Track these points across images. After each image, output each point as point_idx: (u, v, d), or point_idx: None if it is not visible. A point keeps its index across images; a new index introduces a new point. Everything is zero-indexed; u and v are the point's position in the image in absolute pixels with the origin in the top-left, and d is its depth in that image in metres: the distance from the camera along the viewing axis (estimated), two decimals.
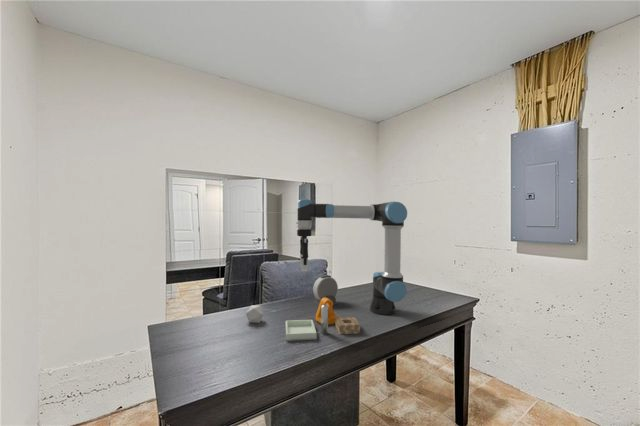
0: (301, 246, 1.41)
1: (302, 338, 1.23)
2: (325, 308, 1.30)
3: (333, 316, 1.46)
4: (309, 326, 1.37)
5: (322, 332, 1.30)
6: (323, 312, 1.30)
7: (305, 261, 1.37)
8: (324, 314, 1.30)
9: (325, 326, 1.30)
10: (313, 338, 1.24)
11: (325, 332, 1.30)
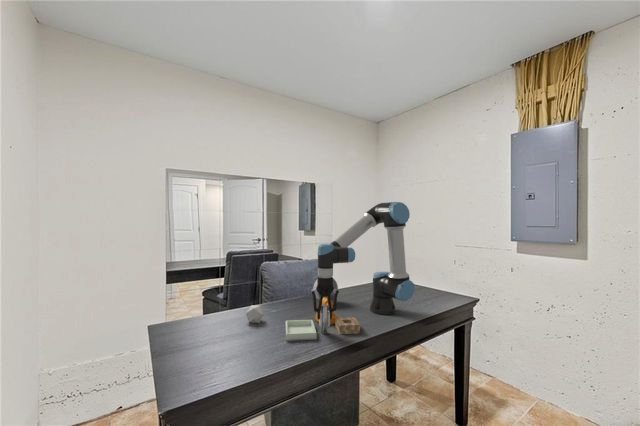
0: (320, 296, 1.33)
1: (302, 338, 1.23)
2: (325, 308, 1.30)
3: (333, 316, 1.46)
4: (309, 326, 1.37)
5: (322, 332, 1.30)
6: (323, 312, 1.30)
7: (317, 315, 1.31)
8: (324, 314, 1.30)
9: (325, 326, 1.30)
10: (313, 338, 1.24)
11: (325, 332, 1.30)
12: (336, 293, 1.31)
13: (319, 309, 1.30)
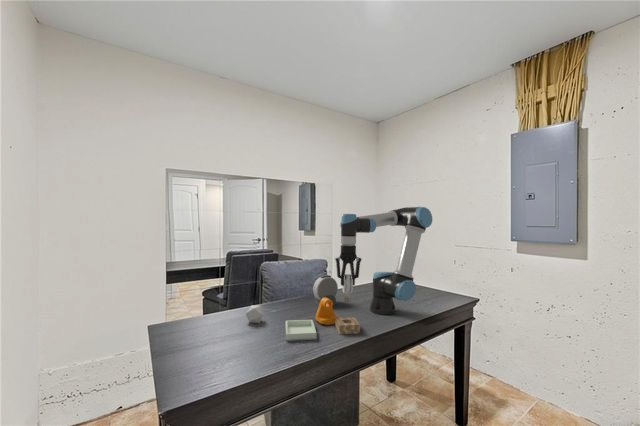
0: None
1: (302, 338, 1.23)
2: (348, 277, 1.35)
3: (333, 316, 1.46)
4: (309, 326, 1.37)
5: (345, 300, 1.35)
6: (346, 280, 1.35)
7: (341, 281, 1.36)
8: (347, 282, 1.35)
9: (348, 294, 1.35)
10: (313, 338, 1.24)
11: (349, 300, 1.35)
12: (359, 261, 1.36)
13: (343, 276, 1.35)
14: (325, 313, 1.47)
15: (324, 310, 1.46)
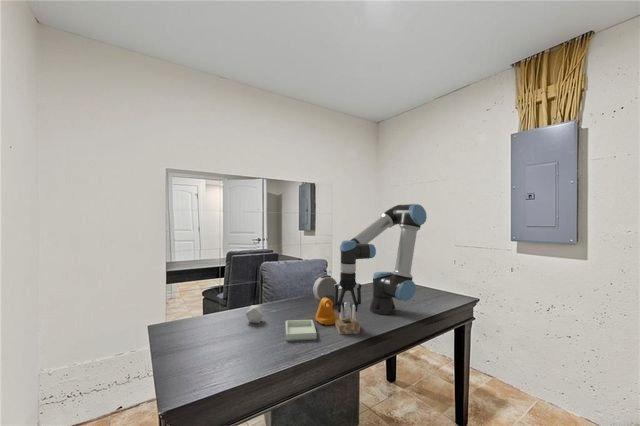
0: None
1: (302, 338, 1.23)
2: (348, 305, 1.34)
3: (333, 316, 1.46)
4: (309, 326, 1.37)
5: None
6: (346, 309, 1.35)
7: (338, 308, 1.35)
8: (347, 311, 1.34)
9: (348, 322, 1.34)
10: (313, 338, 1.24)
11: None
12: (359, 287, 1.36)
13: (340, 303, 1.34)
14: (325, 313, 1.47)
15: (324, 310, 1.46)
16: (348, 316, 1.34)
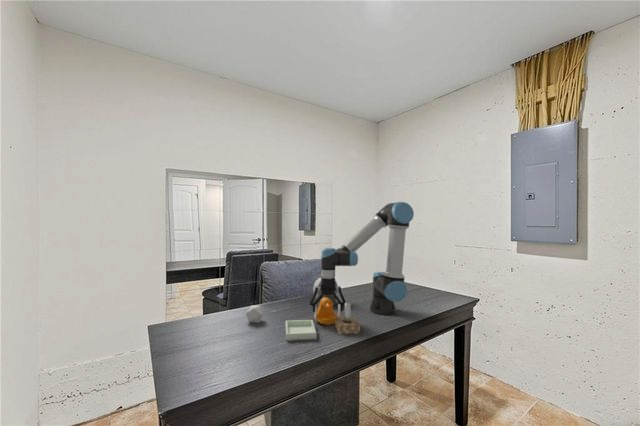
0: None
1: (302, 338, 1.23)
2: (348, 305, 1.34)
3: (333, 316, 1.46)
4: (309, 326, 1.37)
5: None
6: (346, 309, 1.35)
7: None
8: (347, 311, 1.34)
9: (348, 322, 1.34)
10: (313, 338, 1.24)
11: None
12: (339, 289, 1.46)
13: (315, 303, 1.43)
14: (325, 313, 1.47)
15: (324, 310, 1.46)
16: (348, 316, 1.34)
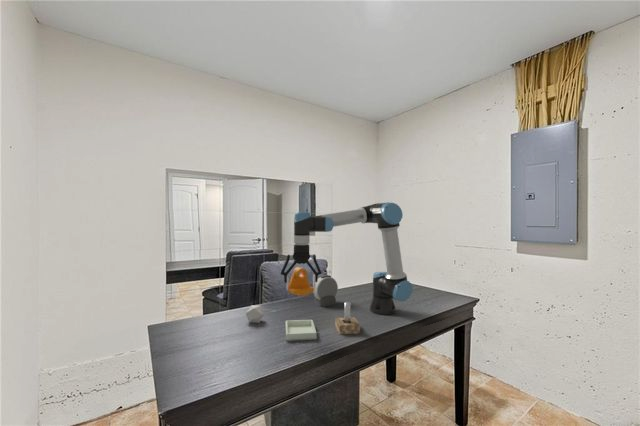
0: None
1: (302, 338, 1.23)
2: (348, 305, 1.34)
3: (307, 287, 1.32)
4: (309, 326, 1.37)
5: None
6: (346, 309, 1.35)
7: (284, 278, 1.30)
8: (347, 311, 1.34)
9: (348, 322, 1.34)
10: (313, 338, 1.24)
11: None
12: (314, 258, 1.31)
13: (287, 273, 1.29)
14: (298, 284, 1.32)
15: (297, 280, 1.32)
16: (348, 316, 1.34)
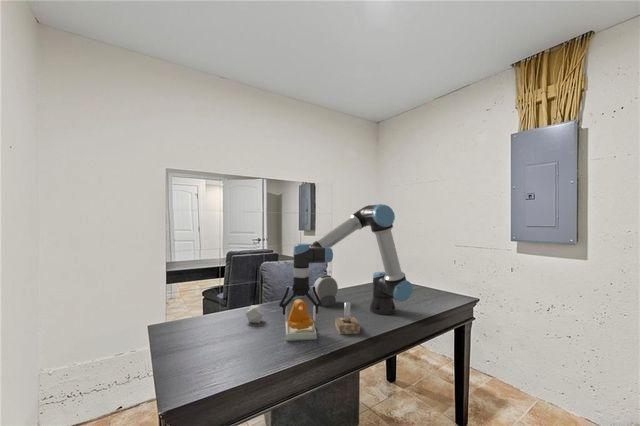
0: (293, 294, 1.32)
1: (302, 338, 1.23)
2: (348, 305, 1.34)
3: (307, 320, 1.32)
4: (309, 326, 1.37)
5: None
6: (346, 309, 1.35)
7: None
8: (347, 311, 1.34)
9: (348, 322, 1.34)
10: (313, 338, 1.24)
11: None
12: (313, 289, 1.31)
13: (285, 305, 1.29)
14: (298, 317, 1.32)
15: (297, 313, 1.32)
16: (348, 316, 1.34)
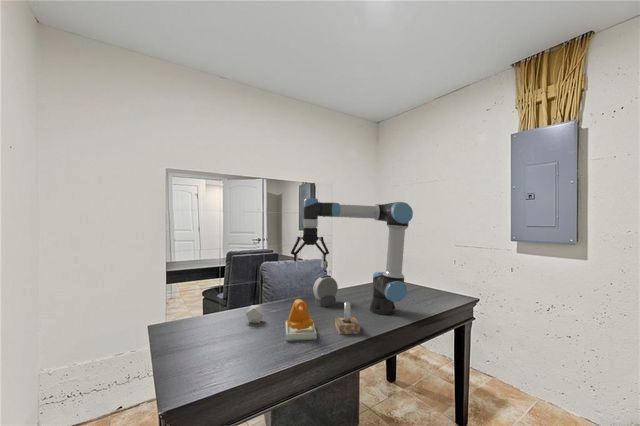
0: (303, 244, 1.46)
1: (302, 338, 1.23)
2: (348, 305, 1.34)
3: (307, 320, 1.32)
4: (309, 326, 1.37)
5: None
6: (346, 309, 1.35)
7: (294, 257, 1.43)
8: (347, 311, 1.34)
9: (348, 322, 1.34)
10: (313, 338, 1.24)
11: None
12: (322, 239, 1.45)
13: (296, 252, 1.43)
14: (298, 317, 1.32)
15: (297, 313, 1.32)
16: (348, 316, 1.34)
